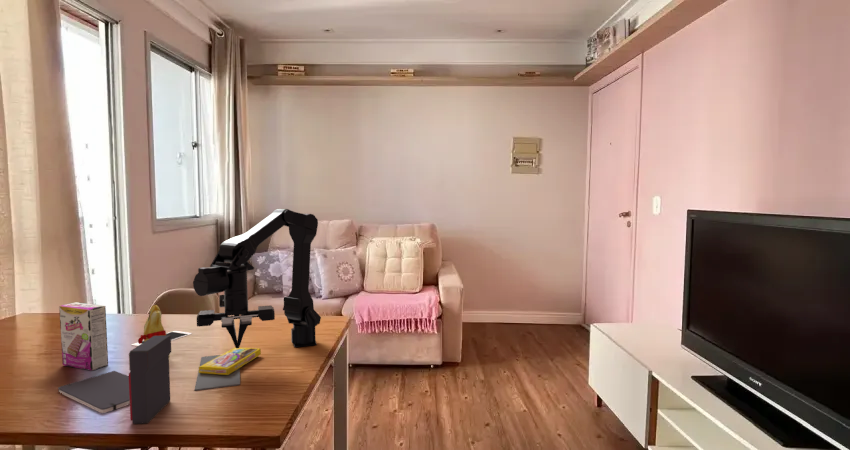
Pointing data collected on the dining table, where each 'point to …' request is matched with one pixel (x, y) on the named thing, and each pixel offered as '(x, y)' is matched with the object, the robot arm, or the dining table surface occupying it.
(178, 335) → the cell phone
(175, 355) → the dining table surface
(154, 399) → the dark grey upright slab
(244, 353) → the candy box
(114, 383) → the notebook
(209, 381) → the mat
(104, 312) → the candy bar box
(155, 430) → the dining table surface
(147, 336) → the chocolate bunny
